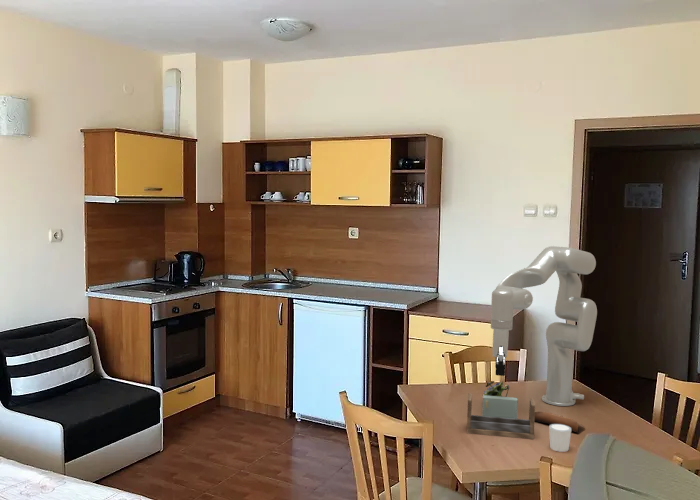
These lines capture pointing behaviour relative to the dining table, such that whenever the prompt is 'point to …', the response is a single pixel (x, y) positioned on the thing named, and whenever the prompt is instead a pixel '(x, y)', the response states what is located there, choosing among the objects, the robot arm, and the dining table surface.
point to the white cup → (559, 437)
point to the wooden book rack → (501, 424)
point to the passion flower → (495, 389)
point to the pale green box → (499, 406)
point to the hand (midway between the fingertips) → (500, 371)
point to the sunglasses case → (559, 421)
